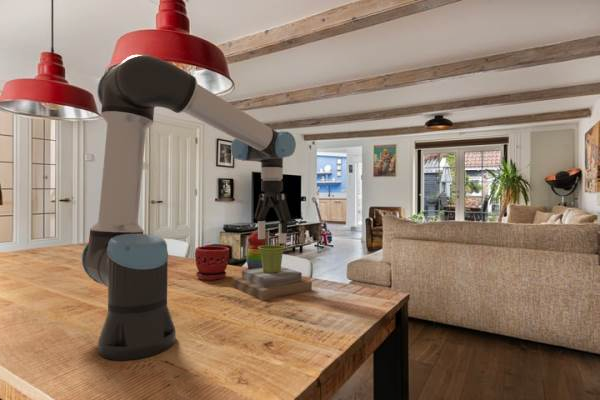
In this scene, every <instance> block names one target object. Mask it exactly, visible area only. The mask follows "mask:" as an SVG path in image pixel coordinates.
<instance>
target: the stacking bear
mask: <svg viewBox="0 0 600 400" xmlns="http://www.w3.org/2000/svg"><path fill="white" fill-rule="evenodd" d="M249 235H250V236H249V237H248V238H247V241H248V243H249V244H250V245H249V246H248V248H247V254H246V264H247V268H246V269H245V270H249V269H257V268H263V267H262V260H261V253H260V250H259V248H258V247H260V246H266V245H265V242H266V236H265V239H258V230H257V231H256V230H255V231H253V232H251V234H249Z"/></svg>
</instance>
